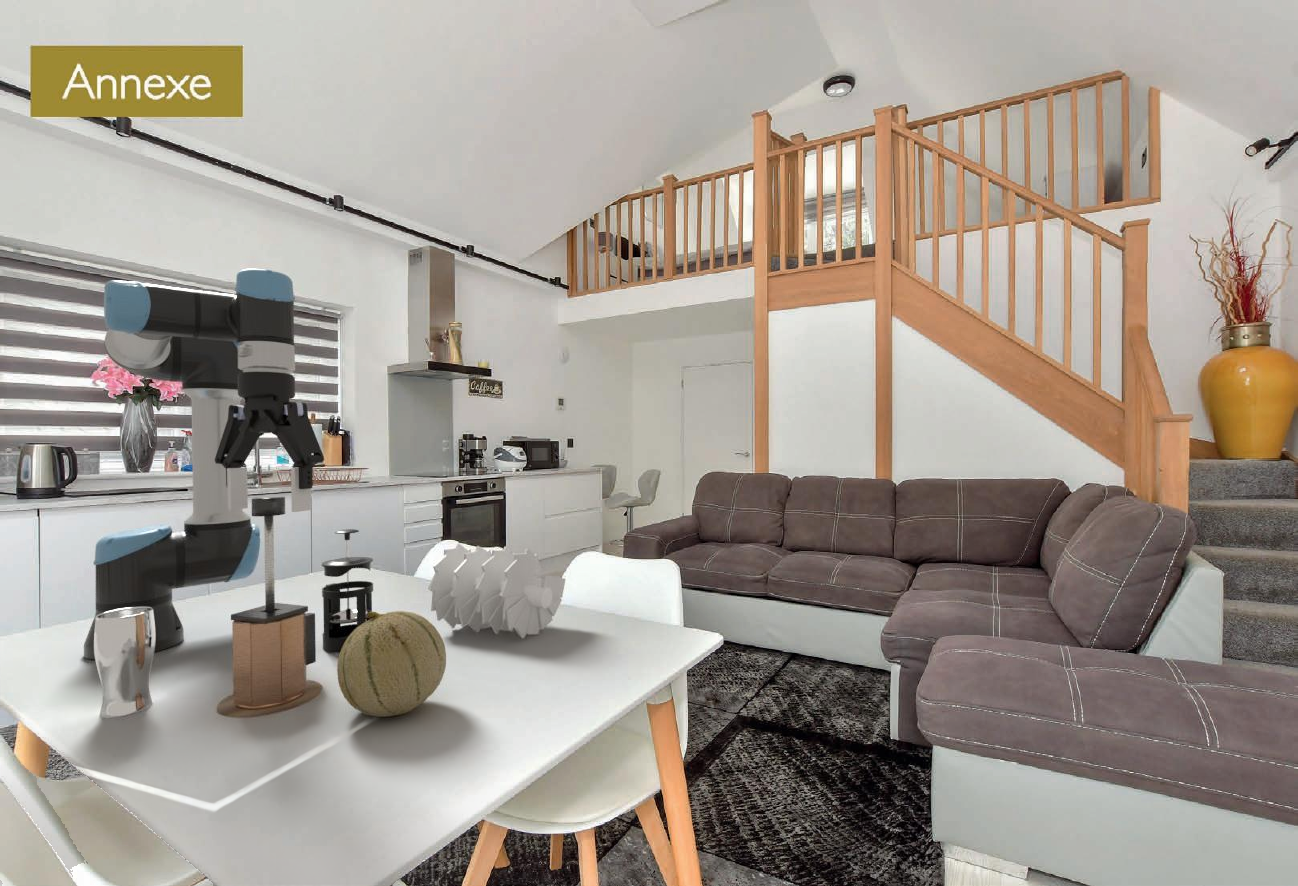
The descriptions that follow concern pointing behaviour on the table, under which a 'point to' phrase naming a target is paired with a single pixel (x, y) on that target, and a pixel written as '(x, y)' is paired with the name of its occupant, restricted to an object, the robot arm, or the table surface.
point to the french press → (332, 595)
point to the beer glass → (124, 659)
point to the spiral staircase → (494, 590)
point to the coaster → (231, 710)
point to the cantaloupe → (391, 663)
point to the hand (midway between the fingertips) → (268, 510)
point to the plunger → (269, 540)
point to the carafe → (271, 655)
